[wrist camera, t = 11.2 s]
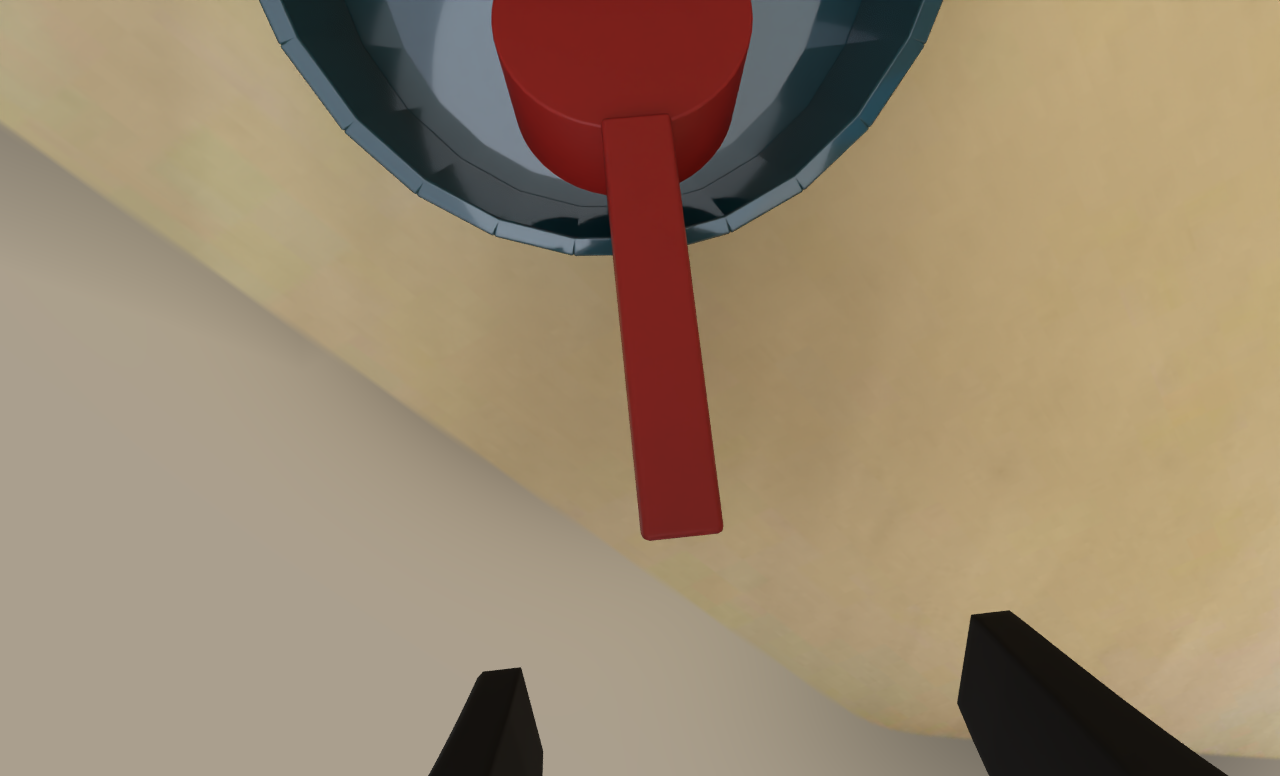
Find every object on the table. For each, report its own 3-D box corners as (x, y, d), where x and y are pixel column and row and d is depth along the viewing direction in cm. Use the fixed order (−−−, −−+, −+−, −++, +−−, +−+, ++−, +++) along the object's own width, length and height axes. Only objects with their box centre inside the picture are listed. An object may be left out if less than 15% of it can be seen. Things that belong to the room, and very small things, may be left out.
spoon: (508, 13, 15) (478, -106, 12) (718, -4, 15) (738, -126, 12) (545, 549, 12) (518, 554, 9) (799, 522, 12) (847, 519, 9)
